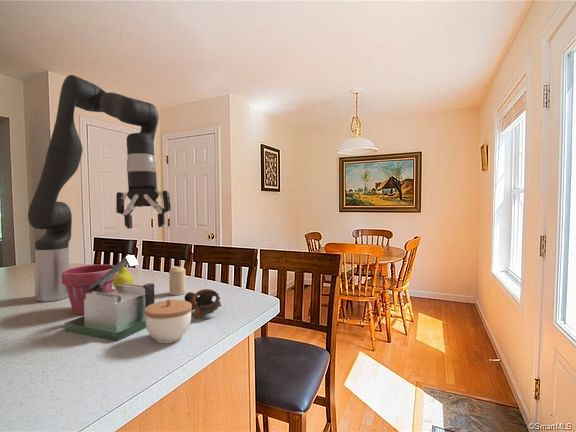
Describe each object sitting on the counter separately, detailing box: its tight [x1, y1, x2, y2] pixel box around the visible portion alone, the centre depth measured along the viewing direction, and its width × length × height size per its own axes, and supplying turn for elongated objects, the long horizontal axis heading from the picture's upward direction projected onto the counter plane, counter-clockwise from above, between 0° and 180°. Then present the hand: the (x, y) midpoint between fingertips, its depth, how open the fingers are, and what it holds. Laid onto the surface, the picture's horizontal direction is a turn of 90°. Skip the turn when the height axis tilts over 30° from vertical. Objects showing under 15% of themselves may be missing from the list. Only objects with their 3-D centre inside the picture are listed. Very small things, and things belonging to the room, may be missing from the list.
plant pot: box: [62, 263, 117, 315], centre depth 97 cm, size 14×14×13 cm
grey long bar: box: [89, 254, 139, 290], centre depth 86 cm, size 16×3×3 cm
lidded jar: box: [145, 298, 192, 344], centre depth 77 cm, size 11×11×9 cm
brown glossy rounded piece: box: [183, 288, 222, 320], centre depth 94 cm, size 12×10×8 cm
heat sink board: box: [64, 282, 155, 342], centre depth 85 cm, size 18×16×11 cm
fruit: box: [112, 266, 134, 290], centre depth 119 cm, size 7×7×12 cm
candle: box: [168, 265, 187, 296], centre depth 115 cm, size 6×6×10 cm
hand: (145, 227), depth 91 cm, fingers open, 8 cm apart
